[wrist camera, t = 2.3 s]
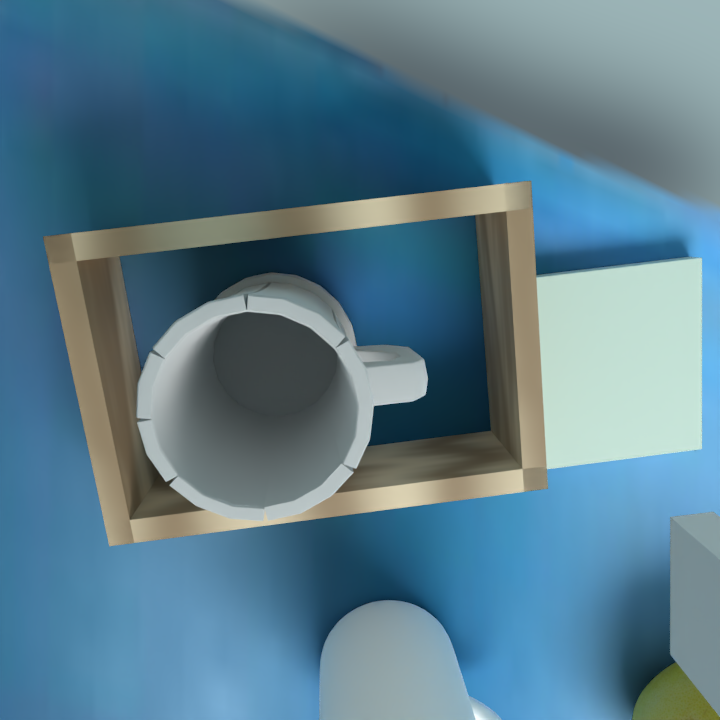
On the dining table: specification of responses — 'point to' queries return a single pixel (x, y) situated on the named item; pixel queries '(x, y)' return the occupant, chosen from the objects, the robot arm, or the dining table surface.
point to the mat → (621, 361)
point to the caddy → (378, 463)
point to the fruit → (672, 699)
